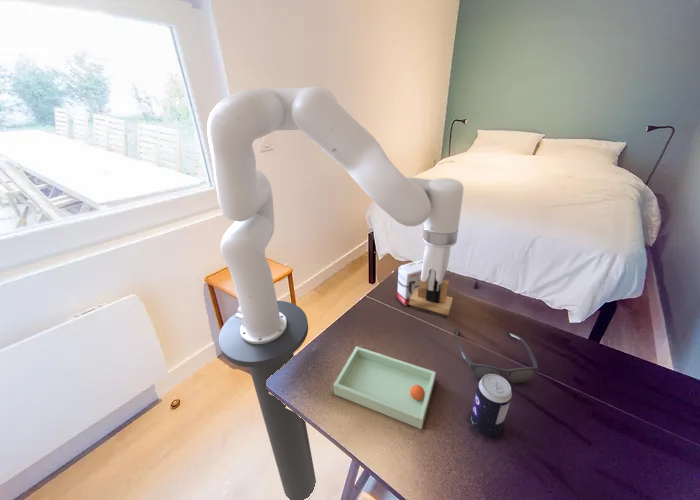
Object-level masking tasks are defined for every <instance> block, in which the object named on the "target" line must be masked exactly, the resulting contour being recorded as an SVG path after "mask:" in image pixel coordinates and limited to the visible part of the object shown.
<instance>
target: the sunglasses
mask: <svg viewBox="0 0 700 500" xmlns="http://www.w3.org/2000/svg"><path fill="white" fill-rule="evenodd" d="M458 334H459V330H456V332H455V339H456V342H457V346H458V349H459V351H460V352H459V353H460V355H461V357H462V358H463V359H464V361H465V362H466V364H467V366H468V367H469V369H471V372H472V373H473V376H474V378H475V379H477V380H479V381H480V380H481V379H482V378H483V377H484V376H485V375H487V374H496V375H499V376H501V377H503V375H504V373H506V376H507V379H508V381H509V382H510V383H512V384H522V383H526V382H527V381H529V380H530V379H532V378H533V376H534V375H535V374H536V373H537V372H538V370H539V366H538V363H537V361H536V358H535V356H534V353H533V352H532V351H533V350H532V349H531V347H530V346H529V344H528V343H527V341H526V340H524V339H523V338H522V337H520V336H519V335H517V334H514V333H513V332H508V334H509V335H510V336H511V338H514V339H517V340H519V341H520V342H521V343H523V345H524V347H525V348H526V351H527V353H528V357H529V360H530V361H531V363H532V366H527V367H526V366H525V367H524V366H523V367H515V368H500V367H496V366H493V365H487V364H481V363H475V362H474V363H473V362H472V360H471V359H470V358H469V356H468V355H467V353H466V352H465V351H464V348H463V347H462V344H461V343H460V340H459V338H458V337H459V336H458Z"/></svg>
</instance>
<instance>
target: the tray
mask: <svg viewBox="0 0 700 500" xmlns="http://www.w3.org/2000/svg"><path fill="white" fill-rule="evenodd" d="M436 374H437V372H436V371H434V370H431V369H429V368H425V367H422V366H418V365H416V364H412V363H409V362H406V361H404V360H400V359H397V358H394V357H391V356H388V355H385V354H382V353H379V352H375V351H372V350H369V349H366V348H364V347H361V346H357V345H356V346H355V348H353V351H352V352H351V354H350V356H349V358H348V359H347V361H346V363H345V364H344V366H343V368H342V370H341V371H340V373H339V375H338V376H337V377H336V379H335V381H334V383H333V395H336V396H338V397H341V398H343V399H345V400H347V401H350V402H353V403H355V404H358V405H360V406H363V407H365V408H367V409H370V410H373V411H375V412H377V413H380V414H383V415H385V416H388V417H390V418H393V419H394V420H398V421H400V422H402V423H405V424H408V425H410V426H412V427H415V428H417V429H420V430H422V429H423V426H424V423H425V419H426V414H427V411H428V407H429V403H430V401H431V396H432V393H433V389H434V386H435V382H436V376H437V375H436ZM414 385H420V386H421V387H422V388H423V389H424V393H425V394H424V397H423V398H422V399H421V400H415V399H413V398H412V397H411V394H410V390H411V388H412V386H414Z"/></svg>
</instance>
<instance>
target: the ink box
mask: <svg viewBox="0 0 700 500" xmlns="http://www.w3.org/2000/svg"><path fill="white" fill-rule="evenodd" d="M422 265H423V259H420V260H416V261H412V262H409V263H405V264H402V265H400V266H399V267H398V271H397V272H398V273H397V274H398V275H397V291H396V292H397V294H396V299H398V301H399V302H400V303H401V304H402V305H404V306H405V307H407V306H410V305H409V302H410V297H411V295H412V293H413V291H414V289H415V288H417V289H418V288H419V280H420V276H421V273H422Z"/></svg>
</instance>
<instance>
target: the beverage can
mask: <svg viewBox="0 0 700 500" xmlns="http://www.w3.org/2000/svg"><path fill="white" fill-rule="evenodd" d="M508 381H509V380H507V379H506V378H505V377H503V376H499V375H496V374H487V375H485V376H484V377H483V378H482V379H481V380H479V381H478V384H477V388H476V393H475V397H474V400H473V405H472V409H471V413H470V424H471V426H472V427H473V428H474V429H475V430H476V432H478V433H479V434H480V435H482V436H485V437H489V438H493V437H496V436H498V435H500V434H501V432H502V428H503V426H504V423H505V420H506V416H507V414H508V411H509V408H510V404H511V401H512V398H513V392H512V387H511V384H510V383H509V382H508Z"/></svg>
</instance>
